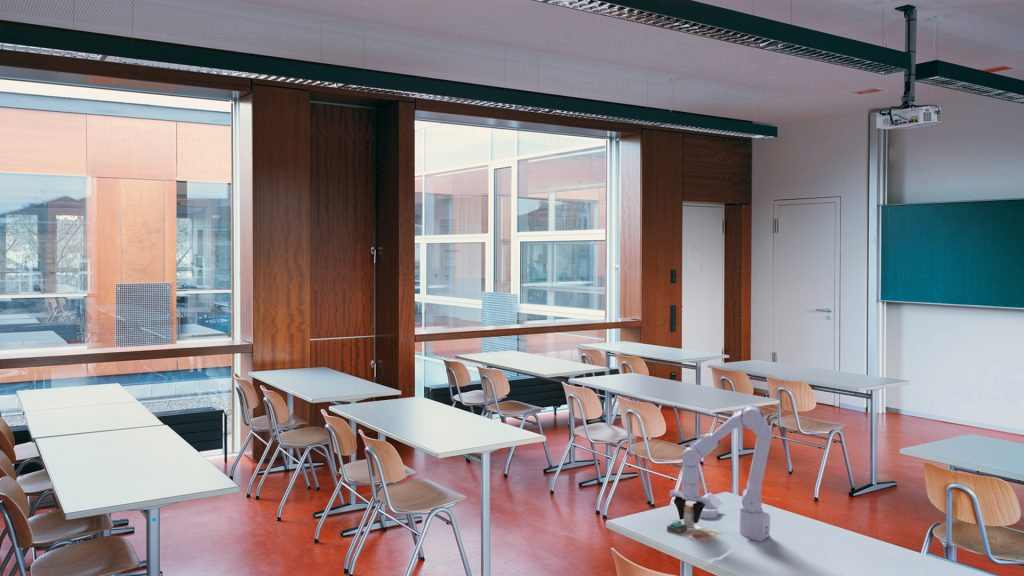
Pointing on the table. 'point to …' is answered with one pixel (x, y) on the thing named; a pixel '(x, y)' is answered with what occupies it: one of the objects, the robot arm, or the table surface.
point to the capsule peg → (689, 516)
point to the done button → (677, 524)
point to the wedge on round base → (711, 507)
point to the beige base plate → (694, 532)
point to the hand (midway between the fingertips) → (689, 520)
